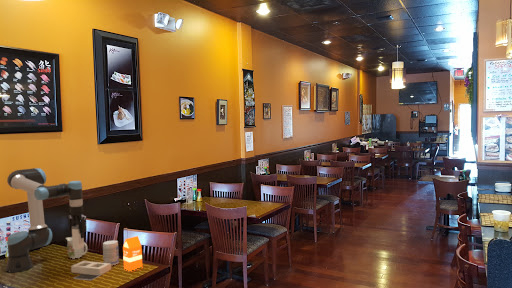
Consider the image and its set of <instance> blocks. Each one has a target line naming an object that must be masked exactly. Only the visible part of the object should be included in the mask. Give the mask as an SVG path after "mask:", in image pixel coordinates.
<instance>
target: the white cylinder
mask: <svg viewBox="0 0 512 288" xmlns="http://www.w3.org/2000/svg"><path fill="white" fill-rule="evenodd" d="M79 233H80V230H79V226H78V224H76V225H75V226H72V233H71V237H72V240H73V249H81V248H83V247H84V248H85V245H84V243H85V242H84V243H81V244H79Z"/></svg>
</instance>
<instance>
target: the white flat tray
mask: <svg viewBox="0 0 512 288" xmlns="http://www.w3.org/2000/svg"><path fill="white" fill-rule="evenodd" d="M109 270H110V271H112V266H111V263H104V262H99V261H88V260H82V261H80V262H78V263H75V264H72V265H70V271H71V273H74V274H80V275H81V274H90V275H100V276H102V275H104V274H106V273H107V272H110V271H109Z"/></svg>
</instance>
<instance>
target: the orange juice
mask: <svg viewBox="0 0 512 288" xmlns="http://www.w3.org/2000/svg"><path fill="white" fill-rule="evenodd" d="M122 253H123V257H122V258H123V270H125V269H126V270H125V271H127V270H128V271H127V272H129V271H131V272H133V271H132V270H134V271H136V270H135V269H137V268H140V267H142V268H143V249H142V244H141V241H140V238H139V236H138V235H136V236H132V237H128V238H125V240H124V243H123V246H122ZM137 270H138V269H137Z"/></svg>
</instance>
